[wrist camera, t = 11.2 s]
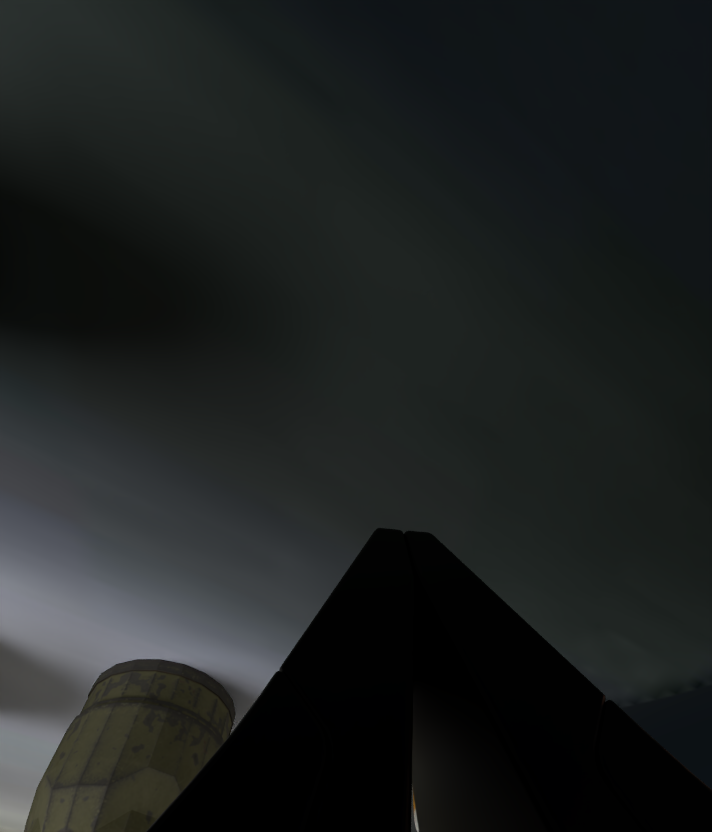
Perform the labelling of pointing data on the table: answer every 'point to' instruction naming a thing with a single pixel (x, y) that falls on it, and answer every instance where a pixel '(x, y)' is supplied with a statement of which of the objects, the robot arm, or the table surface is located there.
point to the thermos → (132, 748)
